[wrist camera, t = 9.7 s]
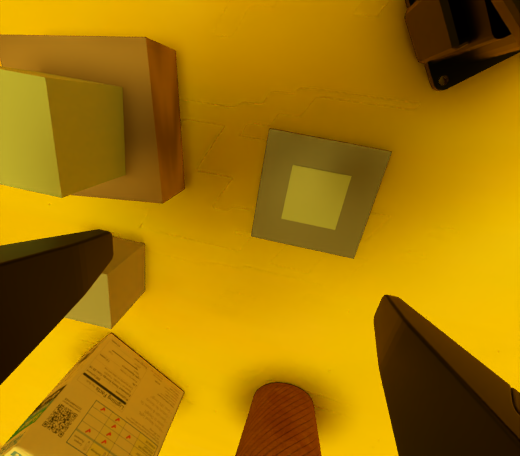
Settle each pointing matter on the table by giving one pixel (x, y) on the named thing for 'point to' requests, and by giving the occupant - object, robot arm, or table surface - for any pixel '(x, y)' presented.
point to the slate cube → (114, 286)
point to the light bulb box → (101, 409)
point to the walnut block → (134, 102)
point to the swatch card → (317, 192)
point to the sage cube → (59, 132)
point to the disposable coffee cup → (280, 423)
